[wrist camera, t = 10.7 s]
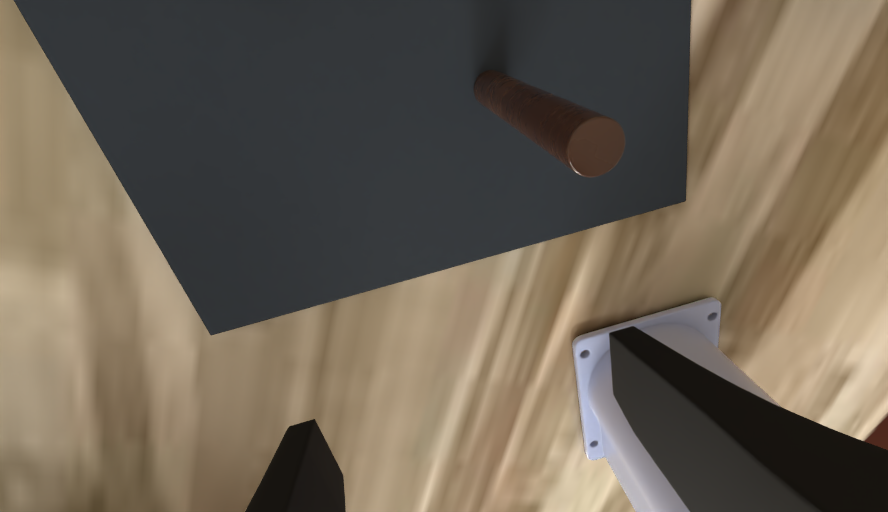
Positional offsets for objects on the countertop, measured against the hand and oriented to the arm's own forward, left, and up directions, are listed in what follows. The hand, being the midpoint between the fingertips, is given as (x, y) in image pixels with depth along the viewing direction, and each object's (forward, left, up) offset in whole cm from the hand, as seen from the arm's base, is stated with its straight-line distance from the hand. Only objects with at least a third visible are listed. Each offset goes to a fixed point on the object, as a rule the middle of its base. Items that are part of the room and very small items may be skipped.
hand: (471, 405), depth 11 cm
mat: (+5, -1, -10) cm, 12 cm away
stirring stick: (+5, -4, -10) cm, 12 cm away
